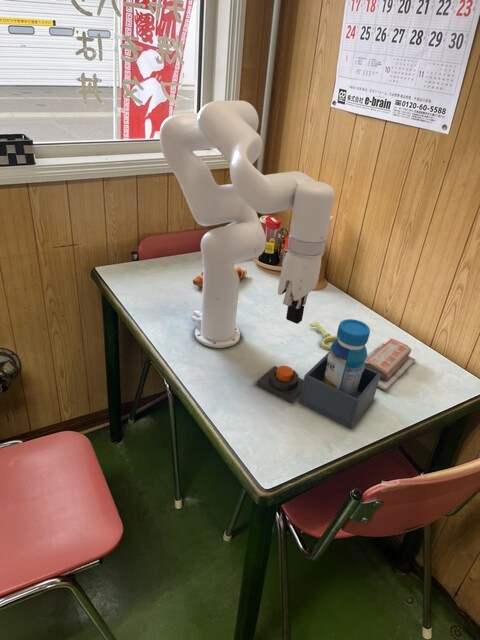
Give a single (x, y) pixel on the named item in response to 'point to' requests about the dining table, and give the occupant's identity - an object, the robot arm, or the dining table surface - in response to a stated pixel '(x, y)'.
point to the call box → (281, 385)
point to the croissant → (199, 279)
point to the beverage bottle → (347, 356)
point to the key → (326, 336)
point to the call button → (284, 373)
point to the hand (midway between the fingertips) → (293, 320)
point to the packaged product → (389, 361)
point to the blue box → (338, 394)
